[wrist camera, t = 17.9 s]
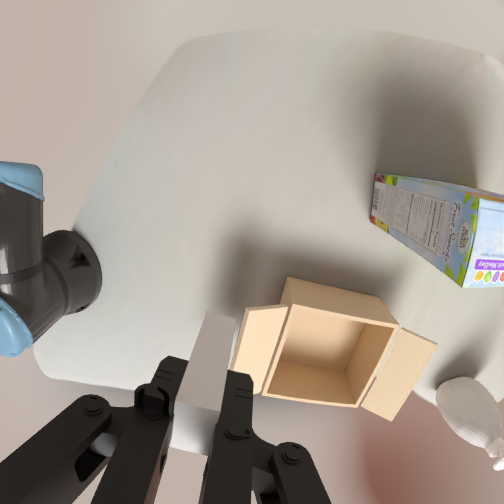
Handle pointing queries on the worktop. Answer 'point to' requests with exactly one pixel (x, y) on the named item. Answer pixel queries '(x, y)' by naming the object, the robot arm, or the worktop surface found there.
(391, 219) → the snack box
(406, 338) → the flap
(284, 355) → the carton
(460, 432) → the soap bottle
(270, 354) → the flap
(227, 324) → the robot arm
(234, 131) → the worktop surface
